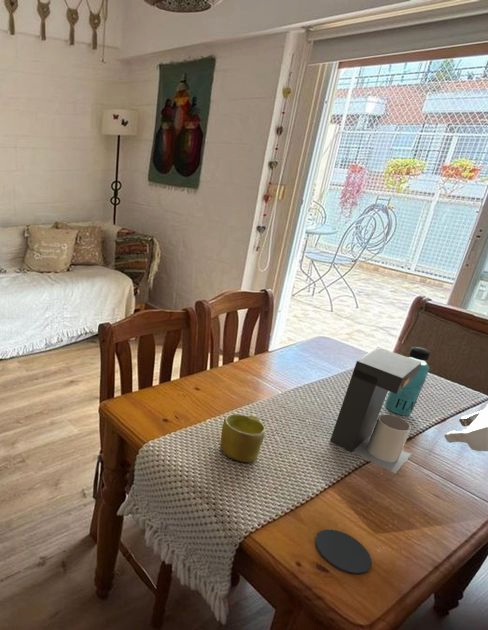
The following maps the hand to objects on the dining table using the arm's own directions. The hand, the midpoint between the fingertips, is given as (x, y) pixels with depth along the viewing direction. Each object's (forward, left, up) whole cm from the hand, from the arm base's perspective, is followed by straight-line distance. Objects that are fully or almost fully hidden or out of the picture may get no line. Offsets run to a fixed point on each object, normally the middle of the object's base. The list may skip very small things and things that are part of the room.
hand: (454, 429), depth 93 cm
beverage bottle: (+23, -14, -14) cm, 31 cm away
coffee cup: (+8, +5, -13) cm, 16 cm away
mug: (+15, +37, -14) cm, 43 cm away
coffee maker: (+10, +6, -14) cm, 19 cm away
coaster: (-13, +33, -14) cm, 39 cm away
